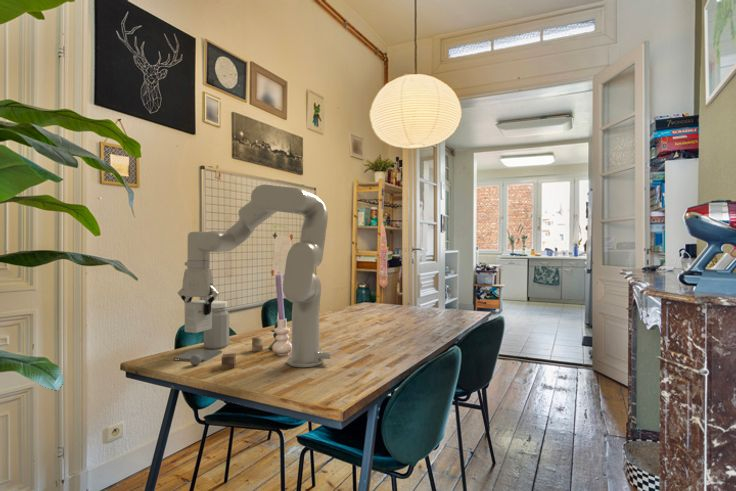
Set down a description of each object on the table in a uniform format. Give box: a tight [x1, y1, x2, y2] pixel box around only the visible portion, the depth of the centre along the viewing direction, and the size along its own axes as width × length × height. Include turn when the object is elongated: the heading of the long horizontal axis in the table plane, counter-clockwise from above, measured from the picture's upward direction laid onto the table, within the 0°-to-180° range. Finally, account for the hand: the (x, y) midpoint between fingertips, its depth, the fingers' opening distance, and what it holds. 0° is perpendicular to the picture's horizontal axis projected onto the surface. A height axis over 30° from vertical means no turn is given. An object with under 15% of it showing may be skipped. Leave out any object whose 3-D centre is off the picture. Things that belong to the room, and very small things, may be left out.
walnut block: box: [221, 353, 237, 370], centre depth 138 cm, size 4×4×4 cm
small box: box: [184, 299, 212, 334], centre depth 150 cm, size 8×6×10 cm
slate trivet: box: [172, 348, 223, 362], centre depth 150 cm, size 12×12×1 cm
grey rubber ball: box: [189, 354, 201, 366], centre depth 139 cm, size 4×4×4 cm
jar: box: [203, 299, 230, 350], centre depth 164 cm, size 10×10×18 cm
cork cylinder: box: [251, 336, 264, 353], centre depth 158 cm, size 4×4×5 cm
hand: (198, 313), depth 150 cm, fingers closed on small box, 6 cm apart
